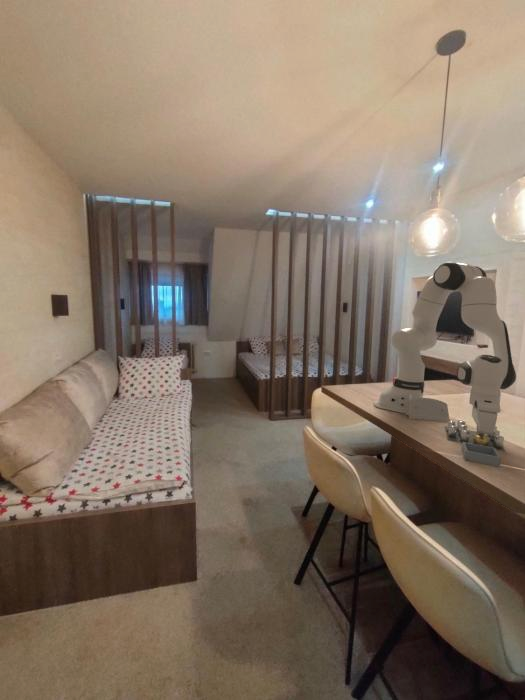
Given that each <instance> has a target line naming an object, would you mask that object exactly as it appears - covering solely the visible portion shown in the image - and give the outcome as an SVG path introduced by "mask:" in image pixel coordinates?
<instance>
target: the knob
mask: <svg viewBox="0 0 525 700" xmlns="http://www.w3.org/2000/svg"><path fill="white" fill-rule="evenodd" d="M488 442H489V437H488V436H486V435H482V434H474V438H473V444H477V445H483V446H488Z"/></svg>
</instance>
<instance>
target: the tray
mask: <svg viewBox="0 0 525 700" xmlns="http://www.w3.org/2000/svg"><path fill="white" fill-rule="evenodd" d="M461 444H462V445H461V452H462V454H463V460H464V459H465V460H464V461H467V460H468V461H469V462H473V463H478V464H482V465H487V466H493V467H497V468H500V464H501V456H500V455H499V453H498V450H496V449H495V448H493V447H488V446H483V445H477V444H472V443H466V442H463V443H461Z"/></svg>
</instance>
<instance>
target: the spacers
mask: <svg viewBox="0 0 525 700" xmlns="http://www.w3.org/2000/svg"><path fill="white" fill-rule="evenodd" d="M456 424H457V425H456ZM446 426H447V432H448V436H449V437H451V438H456V433H457V431H458V435H459V436H460V441H461V442H466V443H468V440H469V431H468V425H466V421H464V420H459V419H458V420H457V423H456V421H454V420H450V421H448V422H447V425H446ZM487 436H488V437H490V441H491V442H494V444H493V447H494V448H496V449H503V448H504V440H505V438H504V436H503V435H501V431H500V430H498V427H497V426H496V425H495V429H494V432H493V434H487Z"/></svg>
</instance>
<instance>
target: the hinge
mask: <svg viewBox="0 0 525 700" xmlns="http://www.w3.org/2000/svg"><path fill="white" fill-rule="evenodd" d="M448 407H449V406H448V404H447V402H444V401H441V400H439V399H435V398H430V397H423V398H416V399H412V400H410V401H409V405H408V411H407V414H406V416H408V419H409V418H411V420H417V419H418V420H424V421H425V420H427V421H428V420H429V421H434V422H435V421H436V422H442V423H443V422H444V423H448V421H451V418H450V415H449V408H448Z"/></svg>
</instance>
